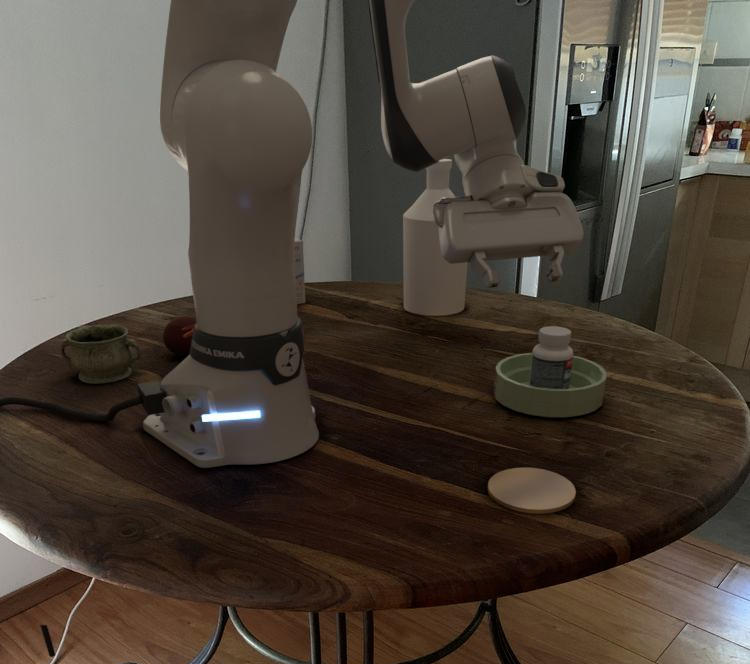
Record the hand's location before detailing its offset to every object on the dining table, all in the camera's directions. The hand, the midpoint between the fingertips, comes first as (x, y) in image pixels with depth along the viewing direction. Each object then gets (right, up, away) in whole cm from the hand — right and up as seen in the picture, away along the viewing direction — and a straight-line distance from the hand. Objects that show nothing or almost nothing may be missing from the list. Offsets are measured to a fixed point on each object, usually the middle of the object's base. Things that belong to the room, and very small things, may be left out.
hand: (525, 282), depth 99 cm
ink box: (-38, +8, +41) cm, 57 cm away
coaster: (-4, -29, -23) cm, 37 cm away
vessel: (-60, -11, +9) cm, 61 cm away
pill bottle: (+3, -16, -1) cm, 16 cm away
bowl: (+3, -16, -1) cm, 16 cm away
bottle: (-9, +6, +38) cm, 40 cm away
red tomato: (-49, -7, +15) cm, 52 cm away
